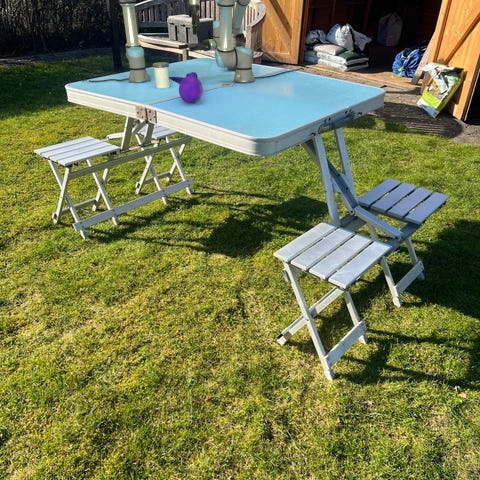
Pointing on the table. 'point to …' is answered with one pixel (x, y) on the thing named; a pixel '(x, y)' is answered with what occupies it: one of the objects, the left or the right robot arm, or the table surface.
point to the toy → (189, 87)
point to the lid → (160, 65)
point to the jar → (162, 77)
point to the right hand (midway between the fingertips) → (184, 48)
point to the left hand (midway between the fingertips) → (196, 35)
